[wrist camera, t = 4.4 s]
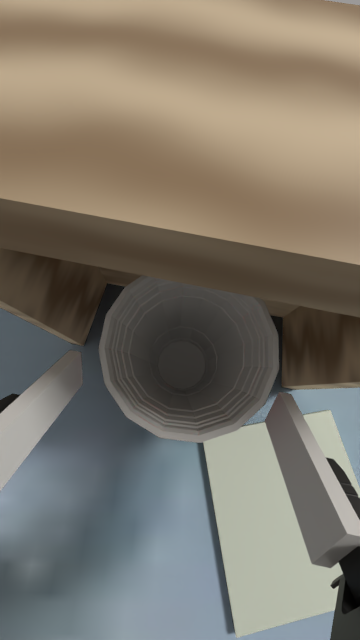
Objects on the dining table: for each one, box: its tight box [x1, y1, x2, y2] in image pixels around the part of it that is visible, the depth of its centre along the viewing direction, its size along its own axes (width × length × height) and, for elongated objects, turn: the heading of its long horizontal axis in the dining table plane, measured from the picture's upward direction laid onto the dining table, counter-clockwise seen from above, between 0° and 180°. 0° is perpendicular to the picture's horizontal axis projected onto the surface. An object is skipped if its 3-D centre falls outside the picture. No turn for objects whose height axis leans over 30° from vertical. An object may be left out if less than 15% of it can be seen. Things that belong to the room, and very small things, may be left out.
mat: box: [203, 410, 360, 638], centre depth 19 cm, size 14×14×1 cm
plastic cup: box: [98, 275, 279, 443], centre depth 17 cm, size 11×11×12 cm
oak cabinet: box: [0, 0, 360, 390], centre depth 16 cm, size 14×26×20 cm, turn 79°
